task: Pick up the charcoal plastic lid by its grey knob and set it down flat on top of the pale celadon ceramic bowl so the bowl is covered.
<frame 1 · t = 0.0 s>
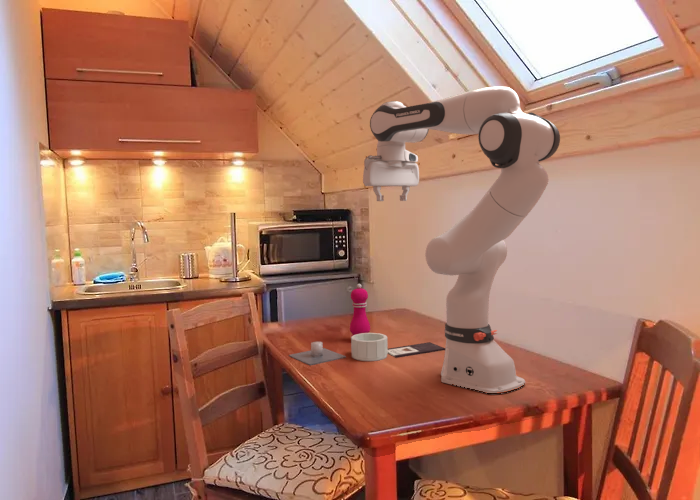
hand: (391, 201, 164), 48 cm above the table, fingers open, 8 cm apart
chocolate bar: (414, 352, 169), on the table
bowl: (369, 356, 164), on the table
lid: (317, 358, 164), on the table
pepper mill: (360, 341, 183), on the table
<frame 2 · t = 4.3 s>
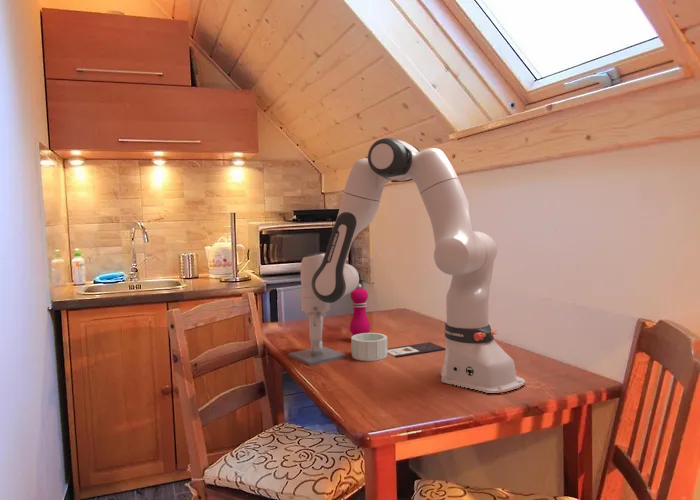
hand: (316, 348, 164), 3 cm above the table, fingers closed on lid, 4 cm apart
lid: (317, 357, 164), on the table, touching gripper
everything else where it was.
when the fingers open (10 cm above the table, at t = 9.4 s): lid stays where it is, resting on bowl.
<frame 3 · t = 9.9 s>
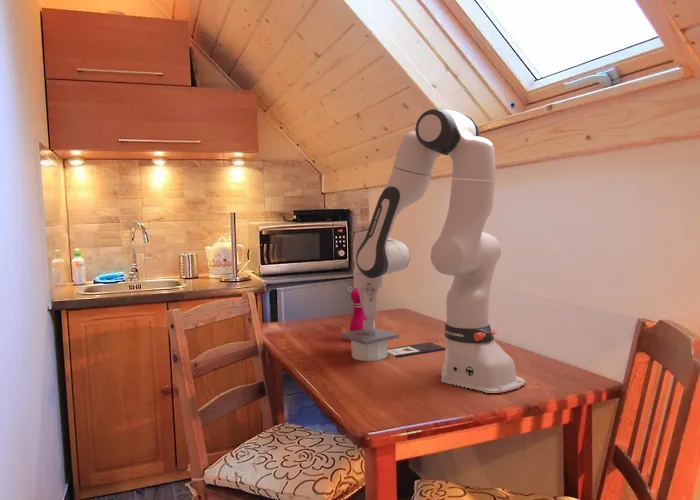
hand: (369, 325, 163), 10 cm above the table, fingers open, 8 cm apart
lid: (369, 337, 163), point 6 cm above the table, touching bowl
everything else where it was.
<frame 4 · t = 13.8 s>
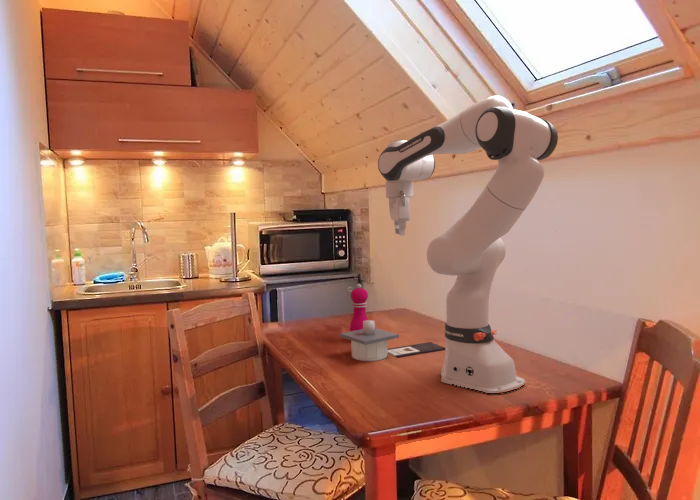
hand: (400, 234, 171), 37 cm above the table, fingers open, 8 cm apart
nothing on the table moved.
at the end: lid 0.0 cm from the bowl (horizontally); lid point 6.0 cm above the table; lid tilted 0° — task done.
